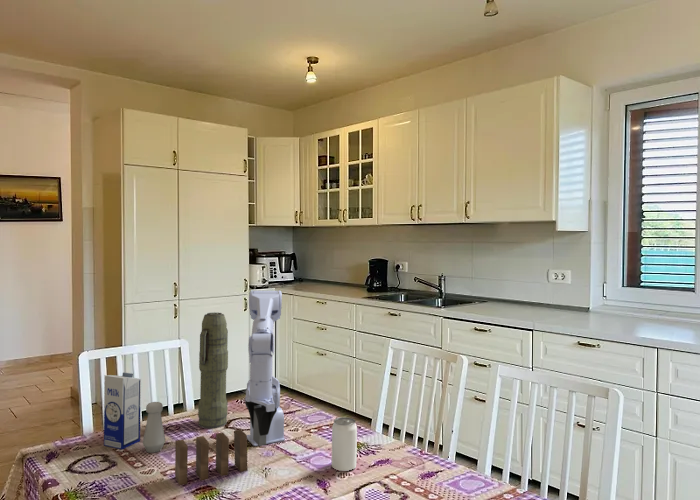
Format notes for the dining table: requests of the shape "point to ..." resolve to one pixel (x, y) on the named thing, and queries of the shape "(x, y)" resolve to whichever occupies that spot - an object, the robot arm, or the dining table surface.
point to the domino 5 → (256, 436)
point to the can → (344, 444)
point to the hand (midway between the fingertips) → (260, 431)
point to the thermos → (213, 371)
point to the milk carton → (121, 410)
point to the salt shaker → (154, 428)
